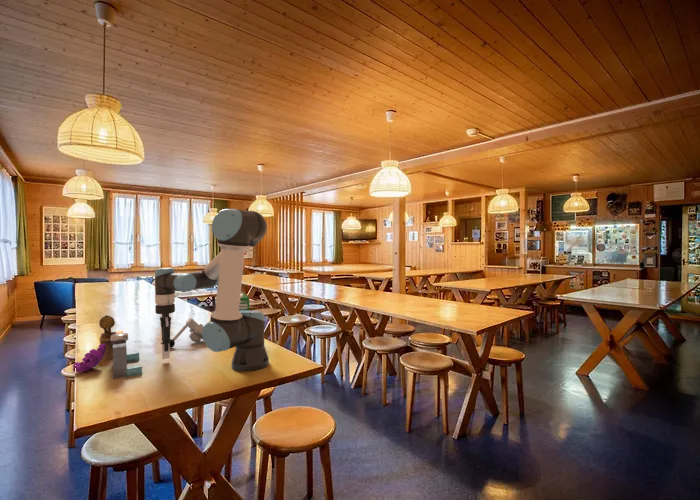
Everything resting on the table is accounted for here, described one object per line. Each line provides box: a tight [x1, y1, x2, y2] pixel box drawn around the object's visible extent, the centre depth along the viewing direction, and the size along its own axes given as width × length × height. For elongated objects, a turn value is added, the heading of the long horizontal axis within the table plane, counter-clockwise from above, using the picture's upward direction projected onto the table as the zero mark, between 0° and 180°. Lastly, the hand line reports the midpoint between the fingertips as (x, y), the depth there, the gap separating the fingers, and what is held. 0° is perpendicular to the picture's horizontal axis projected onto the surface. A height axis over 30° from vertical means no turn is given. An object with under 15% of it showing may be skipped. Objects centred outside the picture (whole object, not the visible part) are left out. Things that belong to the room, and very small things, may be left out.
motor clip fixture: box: [111, 330, 143, 380], centre depth 148 cm, size 22×10×14 cm, turn 33°
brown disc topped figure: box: [99, 315, 116, 361], centre depth 165 cm, size 9×14×18 cm, turn 40°
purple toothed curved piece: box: [72, 344, 106, 373], centre depth 147 cm, size 11×15×10 cm
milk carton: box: [239, 291, 250, 311], centre depth 192 cm, size 9×9×25 cm
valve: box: [170, 317, 204, 349], centre depth 183 cm, size 10×18×15 cm
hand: (166, 358), depth 156 cm, fingers closed
